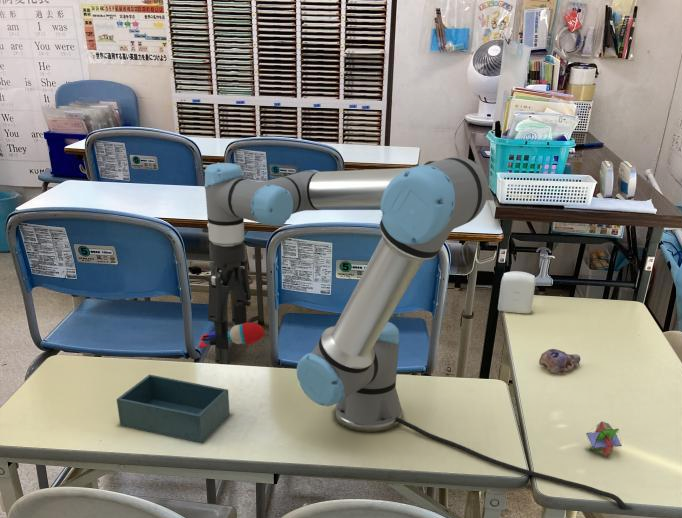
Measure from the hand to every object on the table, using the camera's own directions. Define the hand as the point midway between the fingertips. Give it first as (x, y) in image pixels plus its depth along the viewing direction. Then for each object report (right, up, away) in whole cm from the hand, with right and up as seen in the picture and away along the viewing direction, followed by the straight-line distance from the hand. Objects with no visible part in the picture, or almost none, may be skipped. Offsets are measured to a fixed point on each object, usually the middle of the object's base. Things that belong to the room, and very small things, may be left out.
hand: (231, 340), depth 174 cm
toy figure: (0, -1, +1) cm, 1 cm away
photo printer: (+78, +19, +63) cm, 102 cm away
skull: (+83, -3, +28) cm, 87 cm away
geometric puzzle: (+82, -26, -8) cm, 86 cm away
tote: (-13, -18, -1) cm, 22 cm away
